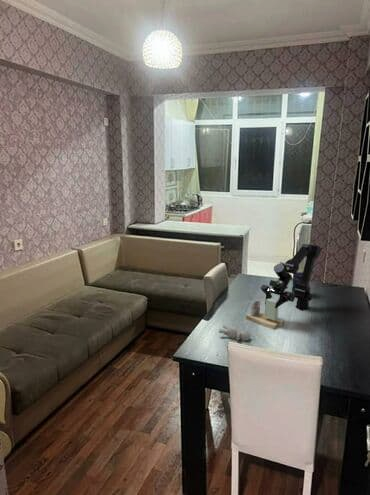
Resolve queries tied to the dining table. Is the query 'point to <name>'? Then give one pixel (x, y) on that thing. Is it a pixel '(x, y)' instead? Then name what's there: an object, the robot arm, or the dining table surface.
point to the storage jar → (296, 281)
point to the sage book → (271, 309)
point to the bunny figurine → (236, 333)
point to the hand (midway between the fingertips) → (270, 306)
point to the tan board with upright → (262, 317)
